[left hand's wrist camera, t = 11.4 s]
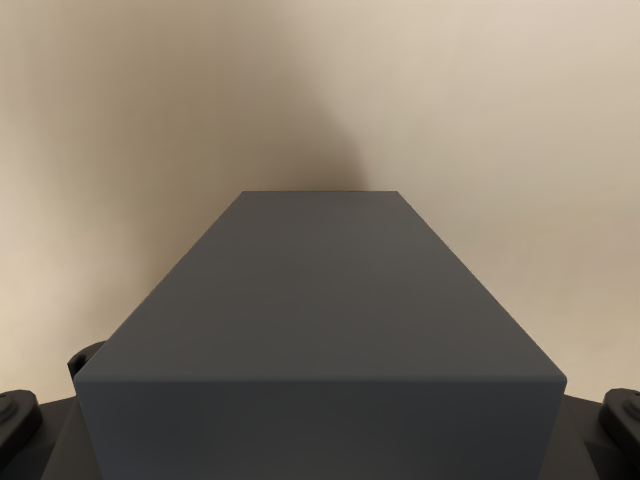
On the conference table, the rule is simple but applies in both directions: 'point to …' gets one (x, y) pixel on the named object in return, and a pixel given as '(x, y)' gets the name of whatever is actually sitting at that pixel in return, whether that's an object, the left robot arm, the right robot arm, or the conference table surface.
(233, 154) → the conference table surface
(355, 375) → the box
